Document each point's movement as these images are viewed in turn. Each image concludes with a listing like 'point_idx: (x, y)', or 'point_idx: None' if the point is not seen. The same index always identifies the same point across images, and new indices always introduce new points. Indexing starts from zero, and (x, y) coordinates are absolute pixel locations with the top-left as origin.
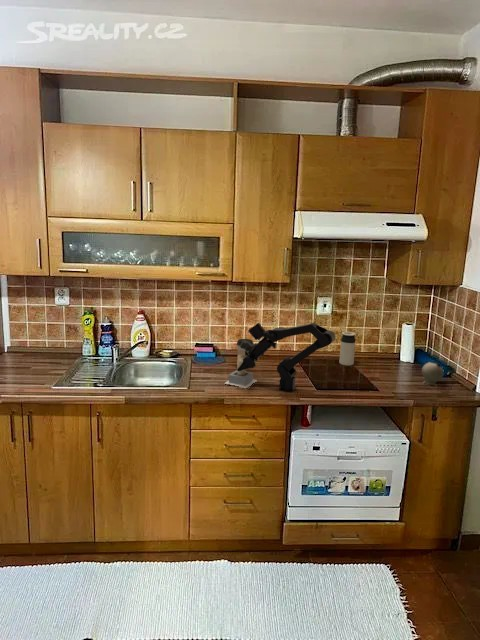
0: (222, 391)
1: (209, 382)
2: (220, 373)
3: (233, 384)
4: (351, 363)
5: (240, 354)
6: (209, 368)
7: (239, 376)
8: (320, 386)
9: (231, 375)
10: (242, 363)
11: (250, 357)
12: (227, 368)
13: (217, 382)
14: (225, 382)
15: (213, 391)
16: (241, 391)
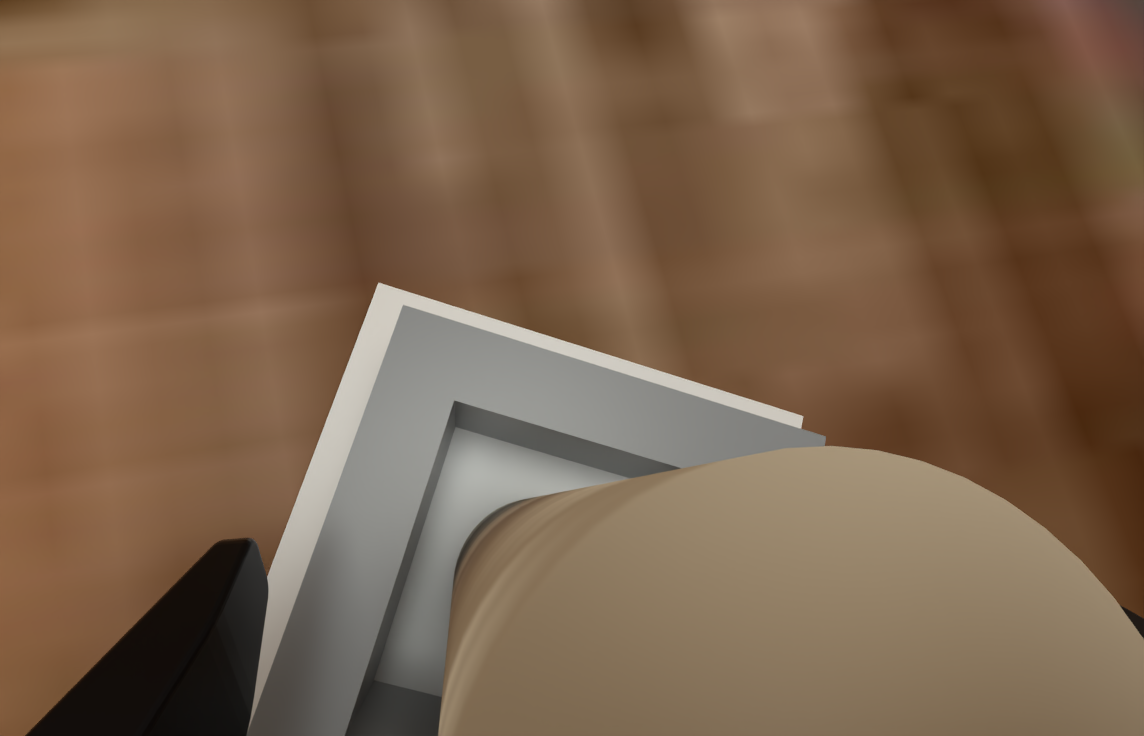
0: (23, 306)
1: (458, 52)
2: (894, 169)
3: (325, 462)
4: None
5: None
6: (1026, 6)
7: (329, 602)
8: None
9: (379, 374)
10: None
11: None
12: (1129, 242)
13: (486, 169)
14: (412, 295)
15: (8, 152)
16: (59, 683)
